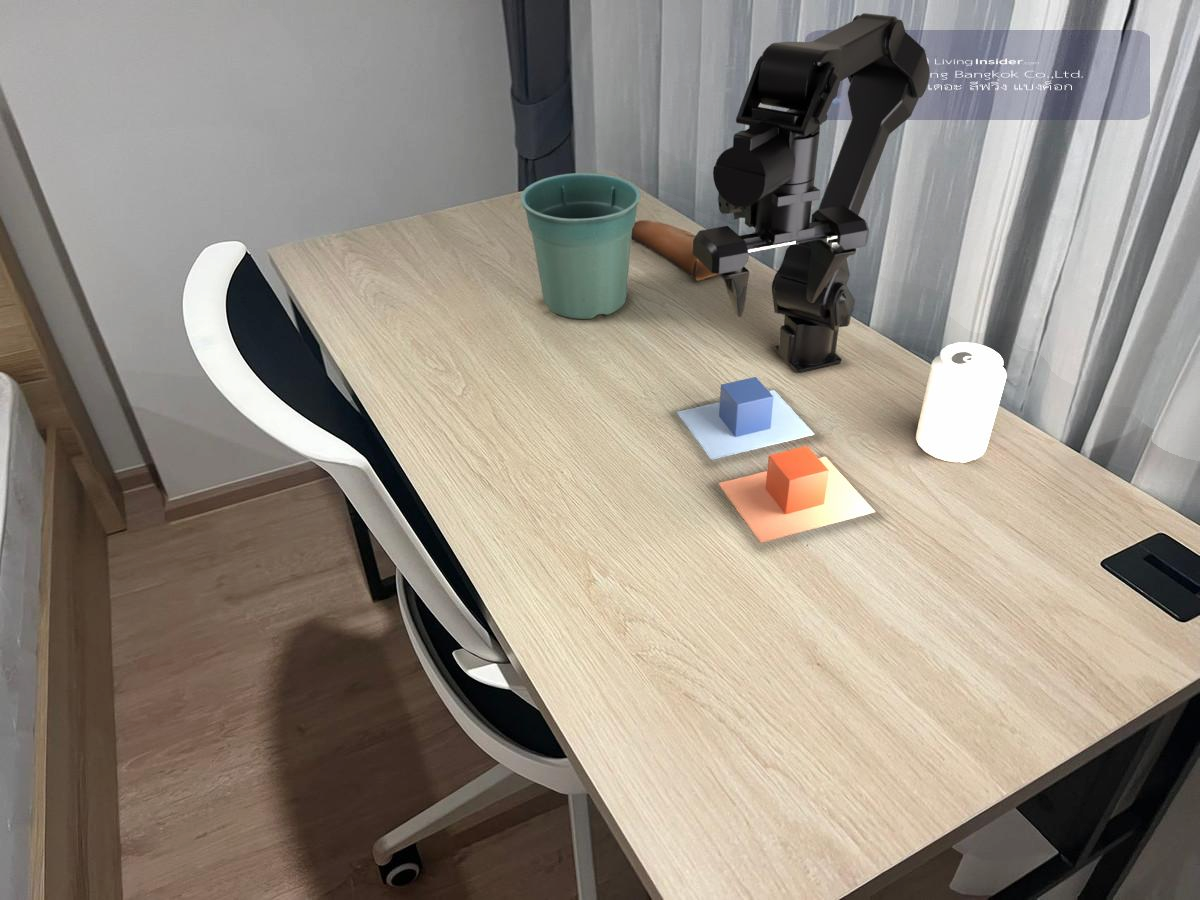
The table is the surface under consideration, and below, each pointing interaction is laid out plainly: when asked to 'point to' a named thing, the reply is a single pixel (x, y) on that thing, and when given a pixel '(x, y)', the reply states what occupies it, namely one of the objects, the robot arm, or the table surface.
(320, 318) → the table surface
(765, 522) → the terracotta mat
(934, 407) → the can
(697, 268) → the sunglasses case
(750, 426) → the blue block
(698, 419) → the blue mat
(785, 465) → the terracotta block
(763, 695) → the table surface
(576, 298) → the flower pot
